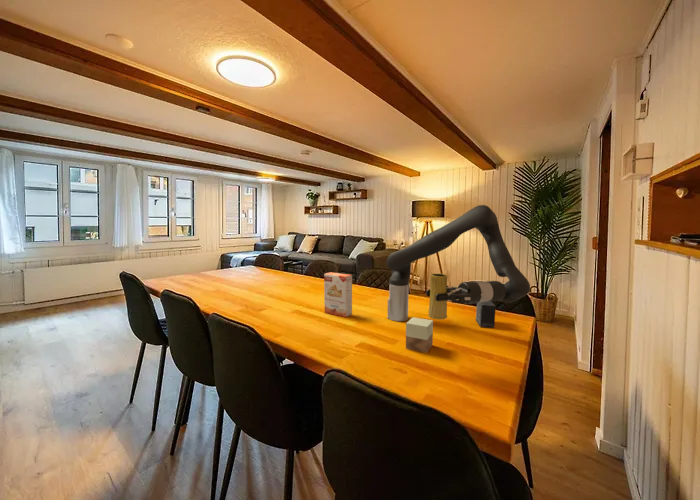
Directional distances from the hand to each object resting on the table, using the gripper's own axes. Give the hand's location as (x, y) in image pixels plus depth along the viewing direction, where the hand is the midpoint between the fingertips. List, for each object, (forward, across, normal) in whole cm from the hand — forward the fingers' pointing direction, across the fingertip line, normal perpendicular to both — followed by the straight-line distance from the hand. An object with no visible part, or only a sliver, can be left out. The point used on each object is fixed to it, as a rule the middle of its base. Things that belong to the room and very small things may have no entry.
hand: (431, 295), depth 101 cm
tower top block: (-3, -13, +19) cm, 23 cm away
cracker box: (+18, -61, +24) cm, 68 cm away
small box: (-45, -28, +24) cm, 58 cm away
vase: (-3, 0, +8) cm, 8 cm away
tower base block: (-3, -13, +24) cm, 27 cm away
